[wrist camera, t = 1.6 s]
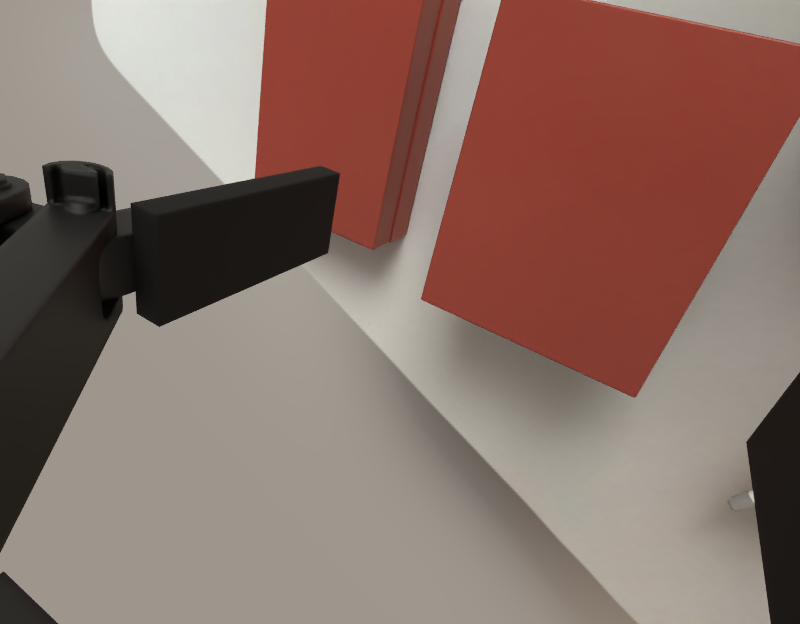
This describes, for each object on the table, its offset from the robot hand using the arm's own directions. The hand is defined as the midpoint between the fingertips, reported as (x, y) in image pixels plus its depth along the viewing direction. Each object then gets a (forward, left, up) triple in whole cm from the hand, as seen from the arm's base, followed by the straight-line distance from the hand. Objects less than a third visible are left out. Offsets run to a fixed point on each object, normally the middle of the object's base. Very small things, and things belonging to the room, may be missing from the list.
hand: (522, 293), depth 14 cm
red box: (-1, -15, -16) cm, 22 cm away
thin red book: (-1, 0, -11) cm, 11 cm away
